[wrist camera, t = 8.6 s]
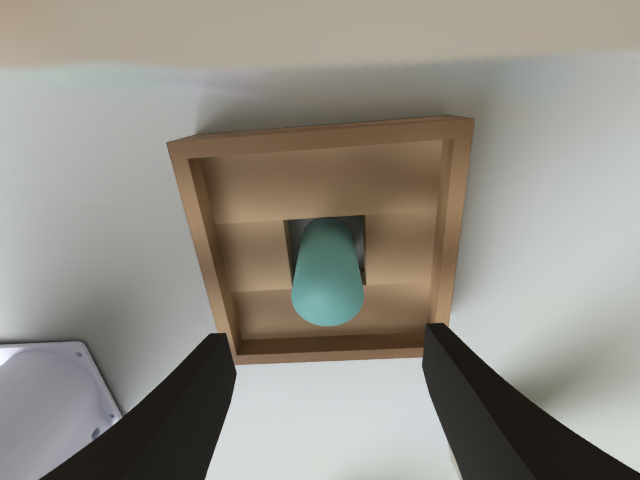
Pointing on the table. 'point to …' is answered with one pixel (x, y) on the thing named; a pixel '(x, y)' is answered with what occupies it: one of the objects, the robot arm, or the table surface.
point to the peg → (327, 274)
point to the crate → (327, 201)
